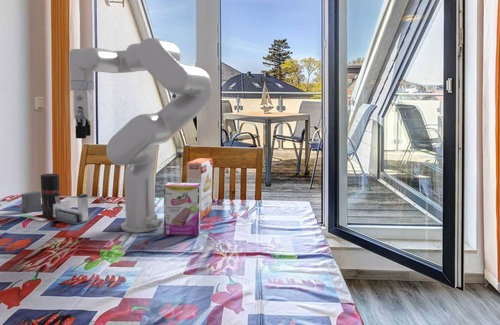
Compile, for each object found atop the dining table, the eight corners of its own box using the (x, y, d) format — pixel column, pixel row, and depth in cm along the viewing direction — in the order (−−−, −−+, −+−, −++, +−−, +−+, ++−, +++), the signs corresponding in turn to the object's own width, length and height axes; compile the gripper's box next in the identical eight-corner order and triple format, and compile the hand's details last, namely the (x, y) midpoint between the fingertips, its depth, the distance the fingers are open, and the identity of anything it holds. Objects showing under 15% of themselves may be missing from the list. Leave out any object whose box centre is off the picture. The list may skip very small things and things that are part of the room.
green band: (62, 210, 158) (62, 210, 158) (30, 218, 147) (30, 218, 147) (52, 208, 161) (52, 207, 161) (20, 216, 150) (20, 215, 150)
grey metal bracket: (90, 220, 147) (90, 212, 146) (75, 224, 141) (75, 216, 141) (71, 216, 151) (71, 208, 151) (55, 220, 146) (55, 212, 145)
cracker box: (201, 221, 149) (201, 163, 146) (185, 219, 150) (185, 162, 147) (212, 211, 162) (213, 158, 159) (197, 210, 163) (198, 157, 160)
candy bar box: (163, 236, 131) (163, 185, 129) (166, 231, 136) (166, 182, 134) (199, 236, 132) (199, 185, 129) (200, 231, 137) (200, 182, 134)
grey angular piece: (92, 218, 146) (91, 193, 145) (78, 222, 141) (77, 196, 139) (68, 213, 152) (66, 189, 150) (53, 217, 147) (52, 192, 145)
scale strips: (73, 212, 156) (73, 212, 156) (41, 221, 144) (41, 220, 144) (62, 210, 158) (62, 210, 158) (30, 218, 147) (30, 218, 147)
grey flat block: (41, 209, 159) (40, 191, 158) (26, 213, 154) (25, 194, 153) (37, 208, 160) (36, 191, 159) (22, 212, 155) (21, 193, 154)
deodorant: (56, 217, 149) (54, 176, 146) (39, 217, 149) (37, 176, 147) (63, 213, 154) (61, 173, 152) (47, 213, 155) (45, 173, 152)
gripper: (89, 86, 134) (91, 139, 137) (97, 87, 151) (98, 134, 153) (64, 85, 132) (66, 139, 135) (75, 86, 149) (76, 134, 152)
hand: (83, 136), depth 144 cm, fingers open, 9 cm apart
